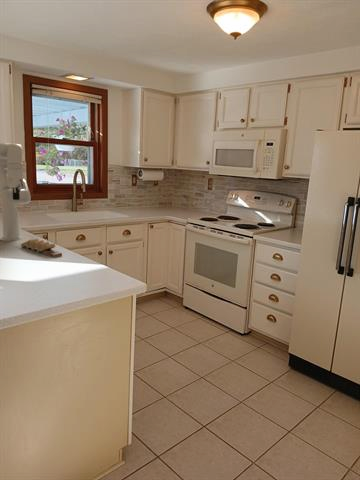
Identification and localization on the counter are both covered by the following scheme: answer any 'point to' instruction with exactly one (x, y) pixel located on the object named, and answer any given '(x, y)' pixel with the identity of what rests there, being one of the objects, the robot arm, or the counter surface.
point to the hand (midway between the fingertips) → (16, 199)
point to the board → (30, 250)
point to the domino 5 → (51, 253)
